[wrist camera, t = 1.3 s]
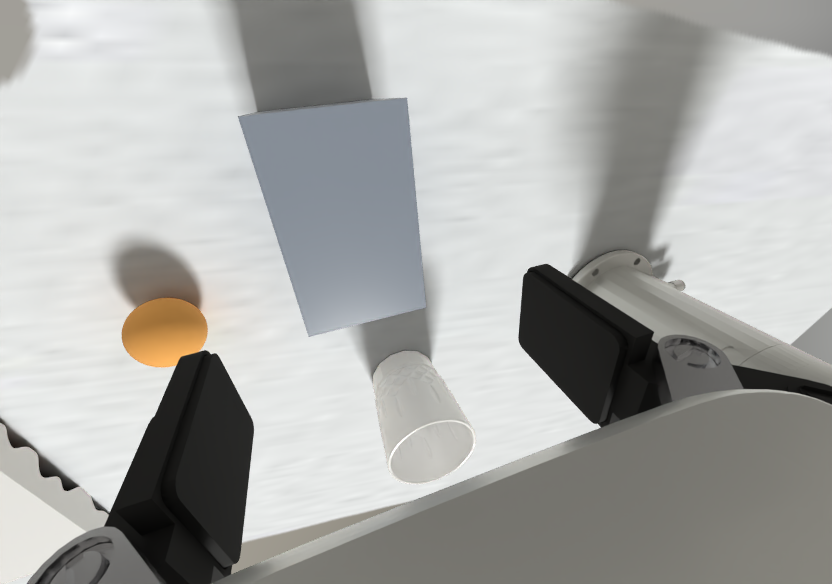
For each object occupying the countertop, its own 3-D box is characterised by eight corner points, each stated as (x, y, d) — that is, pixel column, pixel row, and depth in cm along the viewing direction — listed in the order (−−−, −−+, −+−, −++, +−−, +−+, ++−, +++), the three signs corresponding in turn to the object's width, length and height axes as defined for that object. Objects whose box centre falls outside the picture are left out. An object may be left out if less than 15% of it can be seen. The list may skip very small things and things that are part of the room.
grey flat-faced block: (372, 99, 24) (407, 97, 16) (394, 257, 30) (426, 307, 23) (257, 112, 22) (237, 116, 15) (305, 276, 28) (308, 336, 21)
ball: (198, 279, 26) (179, 313, 22) (223, 331, 28) (210, 370, 24) (124, 294, 25) (89, 332, 21) (157, 346, 27) (132, 390, 23)
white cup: (351, 387, 36) (368, 474, 27) (399, 333, 34) (432, 407, 26) (405, 409, 40) (434, 491, 31) (450, 362, 38) (493, 435, 30)
